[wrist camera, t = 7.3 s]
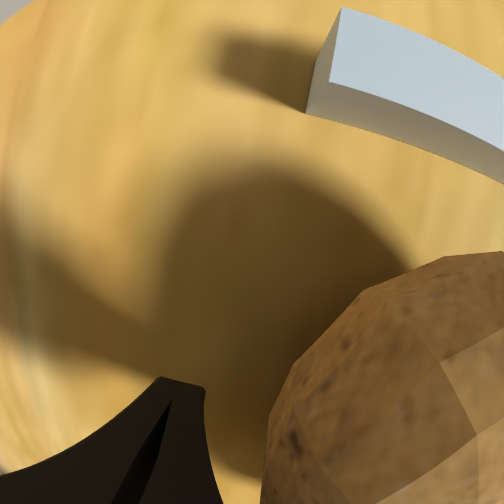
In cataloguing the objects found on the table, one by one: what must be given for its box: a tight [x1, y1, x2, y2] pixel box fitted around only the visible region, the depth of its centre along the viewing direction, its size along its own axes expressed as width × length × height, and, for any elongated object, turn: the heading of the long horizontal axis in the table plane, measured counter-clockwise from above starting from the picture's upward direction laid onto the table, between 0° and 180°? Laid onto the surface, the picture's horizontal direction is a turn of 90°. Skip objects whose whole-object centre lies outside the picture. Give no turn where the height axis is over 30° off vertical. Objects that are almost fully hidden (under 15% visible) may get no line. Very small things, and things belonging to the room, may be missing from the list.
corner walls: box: [305, 7, 504, 184], centre depth 8 cm, size 16×13×4 cm
